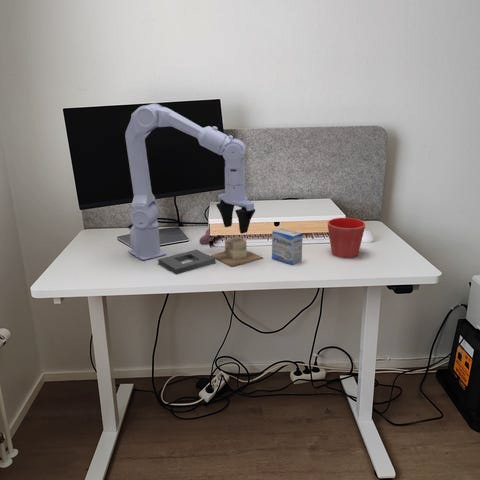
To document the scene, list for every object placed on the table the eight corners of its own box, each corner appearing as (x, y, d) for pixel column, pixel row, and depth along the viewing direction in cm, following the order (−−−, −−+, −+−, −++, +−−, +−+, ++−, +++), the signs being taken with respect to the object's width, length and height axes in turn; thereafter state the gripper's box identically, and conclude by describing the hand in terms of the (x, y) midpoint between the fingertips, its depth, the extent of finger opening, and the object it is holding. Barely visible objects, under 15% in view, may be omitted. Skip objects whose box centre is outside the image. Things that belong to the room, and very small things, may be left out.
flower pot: (340, 262, 145) (342, 230, 142) (319, 250, 155) (320, 220, 151) (370, 256, 149) (373, 225, 146) (348, 245, 159) (350, 215, 156)
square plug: (225, 255, 150) (224, 239, 149) (237, 252, 153) (237, 236, 151) (234, 260, 147) (233, 243, 145) (246, 256, 149) (246, 240, 148)
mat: (210, 256, 151) (210, 255, 151) (239, 248, 157) (239, 247, 157) (232, 267, 143) (232, 265, 143) (262, 258, 149) (262, 257, 149)
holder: (158, 264, 146) (158, 259, 145) (196, 254, 153) (196, 249, 153) (176, 274, 138) (176, 269, 138) (215, 263, 146) (215, 258, 145)
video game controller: (210, 249, 162) (219, 231, 159) (197, 243, 162) (206, 224, 159) (217, 239, 171) (226, 222, 168) (205, 233, 171) (213, 216, 168)
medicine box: (271, 259, 148) (271, 230, 146) (280, 255, 152) (281, 227, 149) (292, 265, 143) (293, 236, 141) (302, 261, 146) (303, 232, 144)
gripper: (262, 185, 140) (262, 232, 144) (231, 177, 151) (232, 221, 155) (242, 189, 136) (242, 237, 140) (211, 180, 147) (212, 225, 151)
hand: (235, 229), depth 147 cm, fingers open, 7 cm apart
